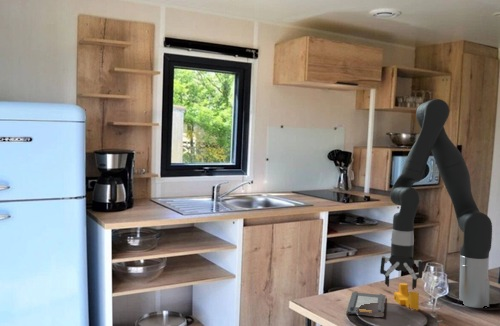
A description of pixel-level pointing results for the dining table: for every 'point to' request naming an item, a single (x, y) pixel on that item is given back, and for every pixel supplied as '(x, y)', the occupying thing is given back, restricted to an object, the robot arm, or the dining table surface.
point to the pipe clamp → (406, 297)
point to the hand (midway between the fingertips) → (400, 287)
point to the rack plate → (364, 301)
